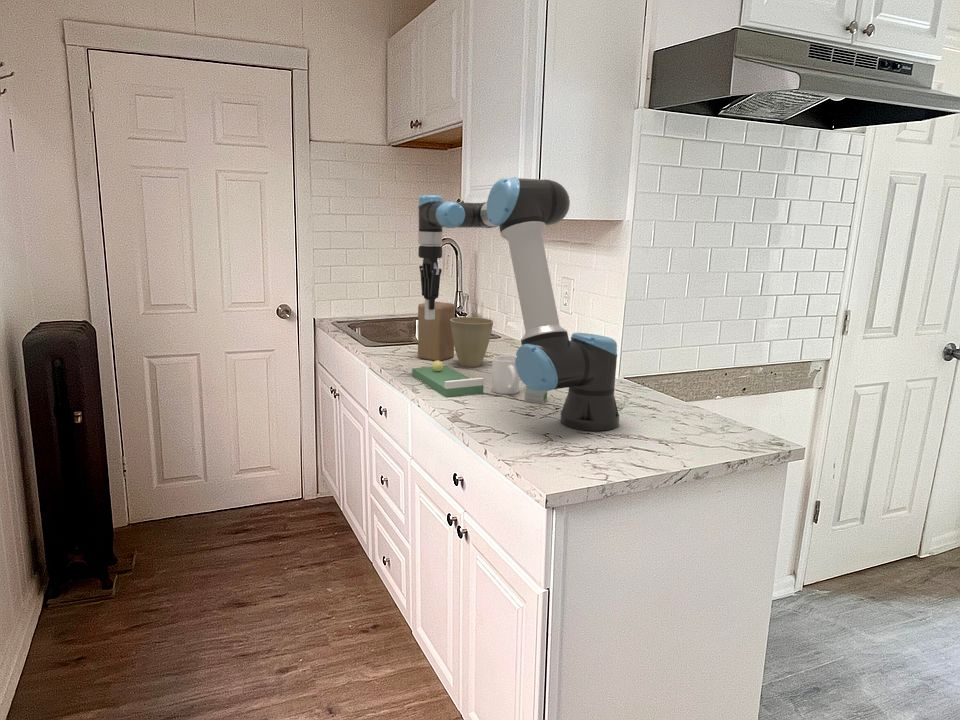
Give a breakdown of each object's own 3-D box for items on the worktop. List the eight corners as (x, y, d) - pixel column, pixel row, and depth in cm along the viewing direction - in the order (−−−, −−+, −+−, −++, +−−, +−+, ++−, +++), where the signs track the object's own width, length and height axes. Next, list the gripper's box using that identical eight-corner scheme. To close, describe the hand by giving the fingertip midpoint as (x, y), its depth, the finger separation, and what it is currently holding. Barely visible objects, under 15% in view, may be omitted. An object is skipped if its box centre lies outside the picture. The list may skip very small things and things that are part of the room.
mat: (483, 393, 207) (483, 378, 206) (446, 397, 202) (446, 382, 201) (445, 372, 231) (446, 359, 230) (412, 375, 226) (412, 362, 225)
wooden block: (455, 357, 256) (455, 303, 251) (439, 362, 247) (439, 306, 243) (433, 353, 261) (433, 300, 257) (416, 358, 253) (417, 303, 248)
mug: (527, 397, 204) (528, 363, 202) (500, 399, 201) (501, 364, 199) (513, 387, 215) (515, 354, 213) (488, 388, 213) (489, 355, 210)
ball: (444, 372, 221) (445, 361, 221) (434, 373, 220) (434, 362, 219) (440, 369, 224) (440, 359, 224) (430, 370, 223) (430, 359, 222)
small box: (543, 404, 198) (544, 387, 197) (523, 401, 199) (524, 385, 198) (547, 398, 203) (548, 382, 202) (528, 397, 205) (529, 380, 204)
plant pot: (468, 371, 234) (469, 325, 230) (441, 363, 245) (441, 319, 241) (500, 366, 243) (502, 321, 240) (473, 358, 254) (474, 315, 251)
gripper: (449, 246, 215) (448, 321, 221) (433, 244, 227) (432, 315, 232) (427, 246, 212) (426, 322, 217) (411, 244, 224) (411, 316, 229)
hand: (429, 319), depth 225 cm, fingers closed
